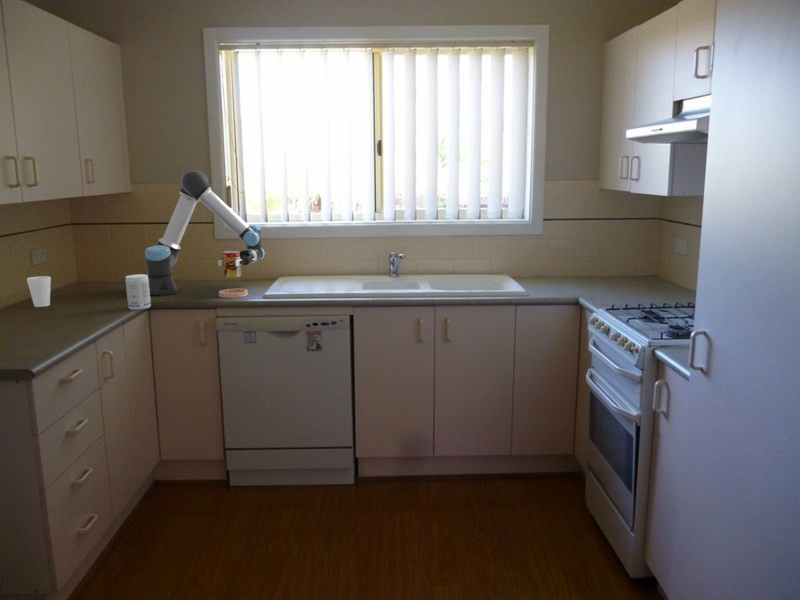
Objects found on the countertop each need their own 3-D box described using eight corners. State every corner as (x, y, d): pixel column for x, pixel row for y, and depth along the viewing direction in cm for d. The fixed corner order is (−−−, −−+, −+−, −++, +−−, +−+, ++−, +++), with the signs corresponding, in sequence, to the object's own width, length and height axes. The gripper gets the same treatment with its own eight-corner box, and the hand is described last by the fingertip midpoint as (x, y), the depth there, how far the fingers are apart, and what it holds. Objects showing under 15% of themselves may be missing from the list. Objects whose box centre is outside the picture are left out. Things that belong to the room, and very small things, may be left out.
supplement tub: (147, 305, 301) (144, 273, 298) (154, 308, 293) (151, 275, 291) (125, 307, 295) (122, 275, 292) (132, 311, 287) (129, 278, 285)
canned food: (226, 275, 324) (224, 251, 322) (242, 274, 325) (240, 250, 322) (223, 277, 316) (221, 253, 314) (239, 277, 317) (238, 252, 315)
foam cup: (28, 305, 303) (25, 277, 300) (50, 302, 309) (47, 275, 306) (33, 308, 296) (29, 280, 293) (55, 305, 301) (52, 277, 299)
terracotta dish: (213, 297, 317) (213, 293, 317) (226, 292, 330) (226, 288, 330) (240, 298, 314) (240, 294, 314) (252, 292, 328) (252, 288, 327)
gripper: (266, 264, 335) (248, 271, 313) (228, 264, 339) (208, 270, 317) (265, 250, 334) (247, 255, 312) (227, 249, 338) (207, 255, 316)
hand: (227, 263), depth 315 cm, fingers closed on canned food, 8 cm apart
